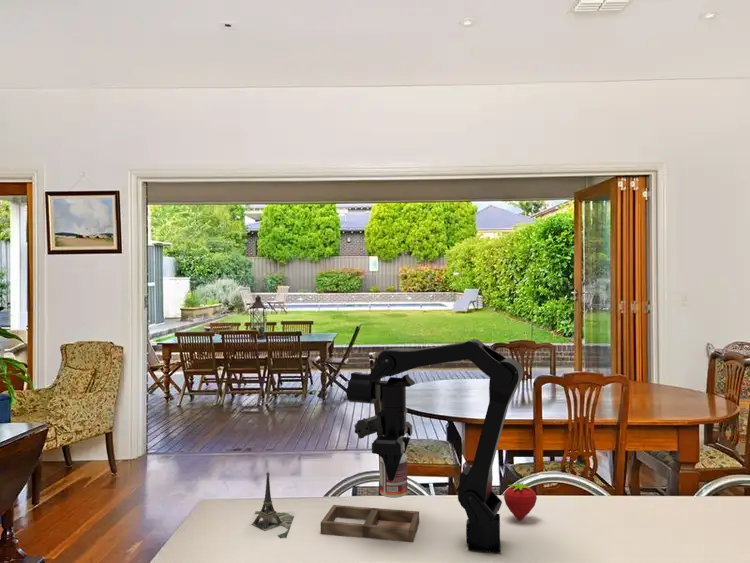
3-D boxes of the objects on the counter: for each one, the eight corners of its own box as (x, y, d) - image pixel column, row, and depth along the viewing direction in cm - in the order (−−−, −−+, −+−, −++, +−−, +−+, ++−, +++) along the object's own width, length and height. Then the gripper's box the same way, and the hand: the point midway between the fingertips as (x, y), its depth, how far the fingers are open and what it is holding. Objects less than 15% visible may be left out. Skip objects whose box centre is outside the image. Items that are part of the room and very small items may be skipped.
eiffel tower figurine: (287, 541, 123) (287, 479, 123) (239, 541, 123) (240, 479, 123) (296, 513, 138) (296, 458, 138) (254, 513, 138) (254, 458, 138)
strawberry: (540, 525, 130) (540, 481, 130) (507, 526, 130) (507, 481, 130) (532, 515, 136) (532, 472, 136) (500, 515, 136) (500, 473, 136)
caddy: (419, 522, 132) (419, 511, 132) (413, 542, 121) (413, 530, 121) (333, 515, 136) (333, 504, 136) (320, 533, 125) (320, 522, 125)
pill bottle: (413, 493, 127) (412, 442, 128) (393, 500, 123) (393, 447, 123) (393, 486, 132) (392, 437, 132) (373, 493, 128) (373, 442, 128)
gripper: (366, 396, 139) (366, 461, 138) (347, 412, 120) (348, 487, 120) (412, 397, 136) (412, 463, 136) (400, 414, 118) (400, 491, 118)
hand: (393, 475), depth 128 cm, fingers closed on pill bottle, 6 cm apart
